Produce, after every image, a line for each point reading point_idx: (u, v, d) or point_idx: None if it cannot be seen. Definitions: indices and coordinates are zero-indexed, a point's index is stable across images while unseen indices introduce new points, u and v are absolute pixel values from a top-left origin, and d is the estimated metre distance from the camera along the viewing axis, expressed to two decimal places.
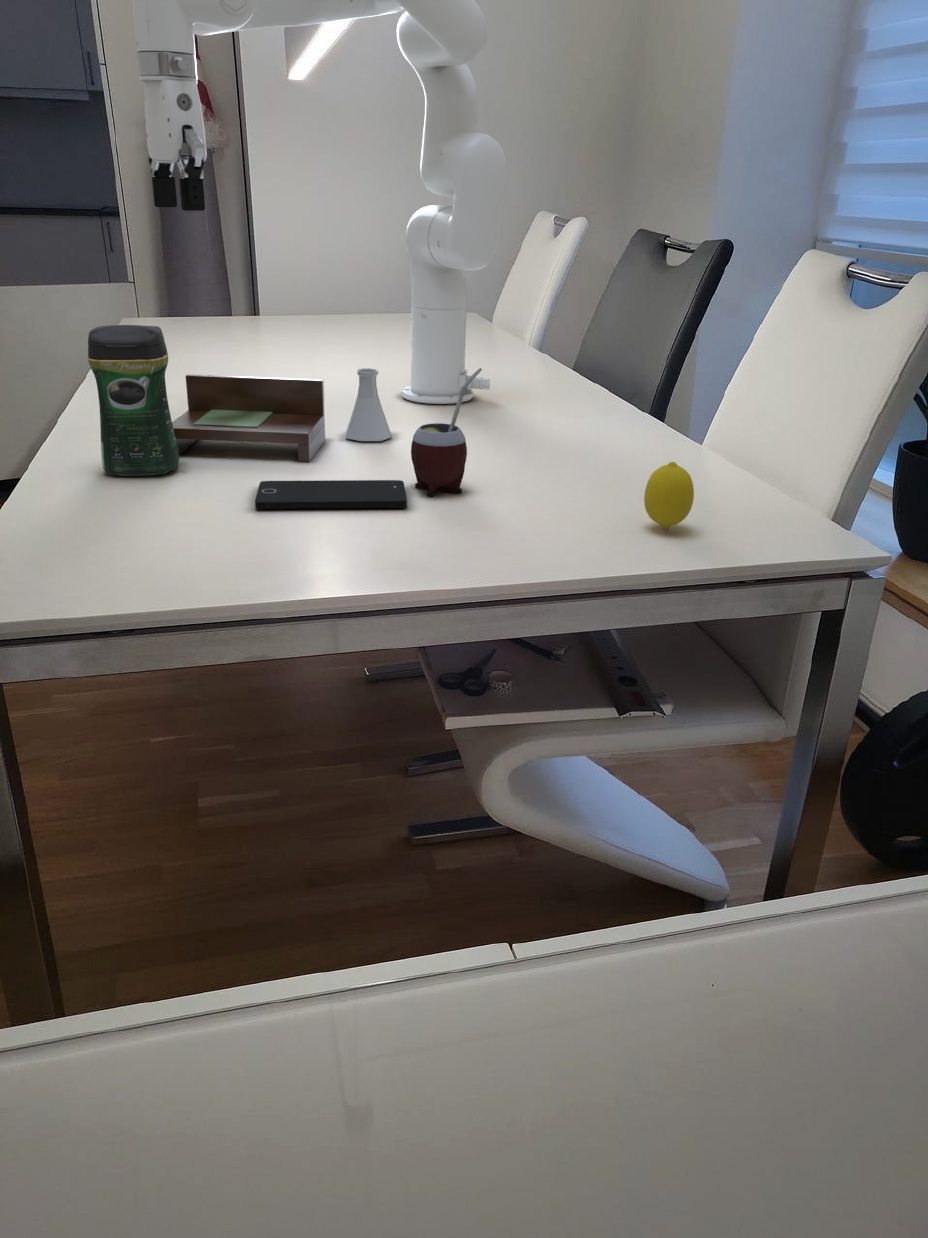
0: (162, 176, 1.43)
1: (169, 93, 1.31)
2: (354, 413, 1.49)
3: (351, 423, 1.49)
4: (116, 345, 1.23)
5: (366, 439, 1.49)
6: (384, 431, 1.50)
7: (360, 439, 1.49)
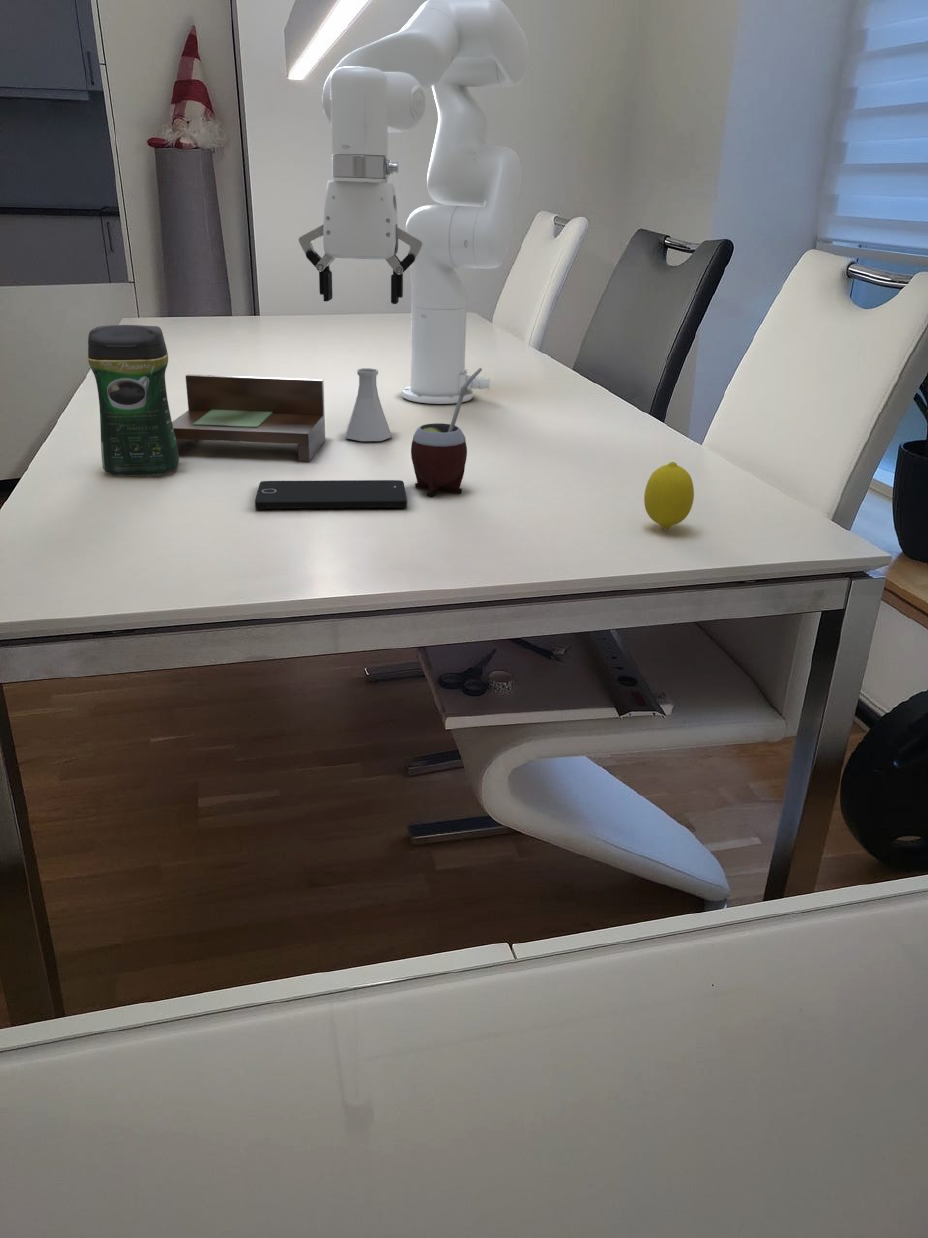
0: (328, 271, 1.42)
1: (389, 195, 1.36)
2: (354, 413, 1.49)
3: (351, 423, 1.49)
4: (116, 345, 1.23)
5: (366, 439, 1.49)
6: (384, 431, 1.50)
7: (360, 439, 1.49)
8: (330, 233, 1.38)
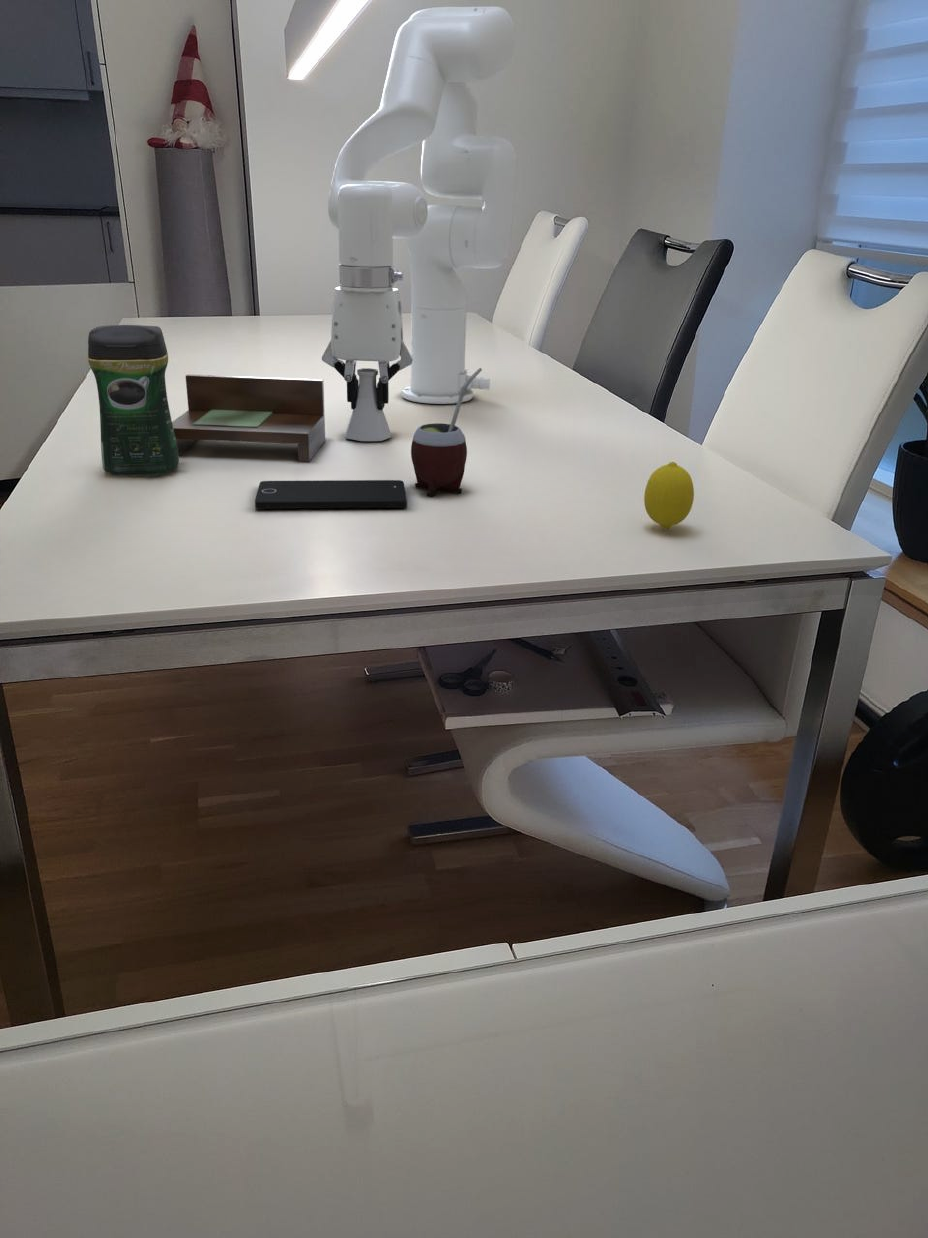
0: (355, 380, 1.48)
1: (395, 302, 1.42)
2: (354, 413, 1.49)
3: (351, 423, 1.49)
4: (116, 345, 1.23)
5: (366, 439, 1.49)
6: (384, 431, 1.50)
7: (360, 439, 1.49)
8: (338, 338, 1.44)
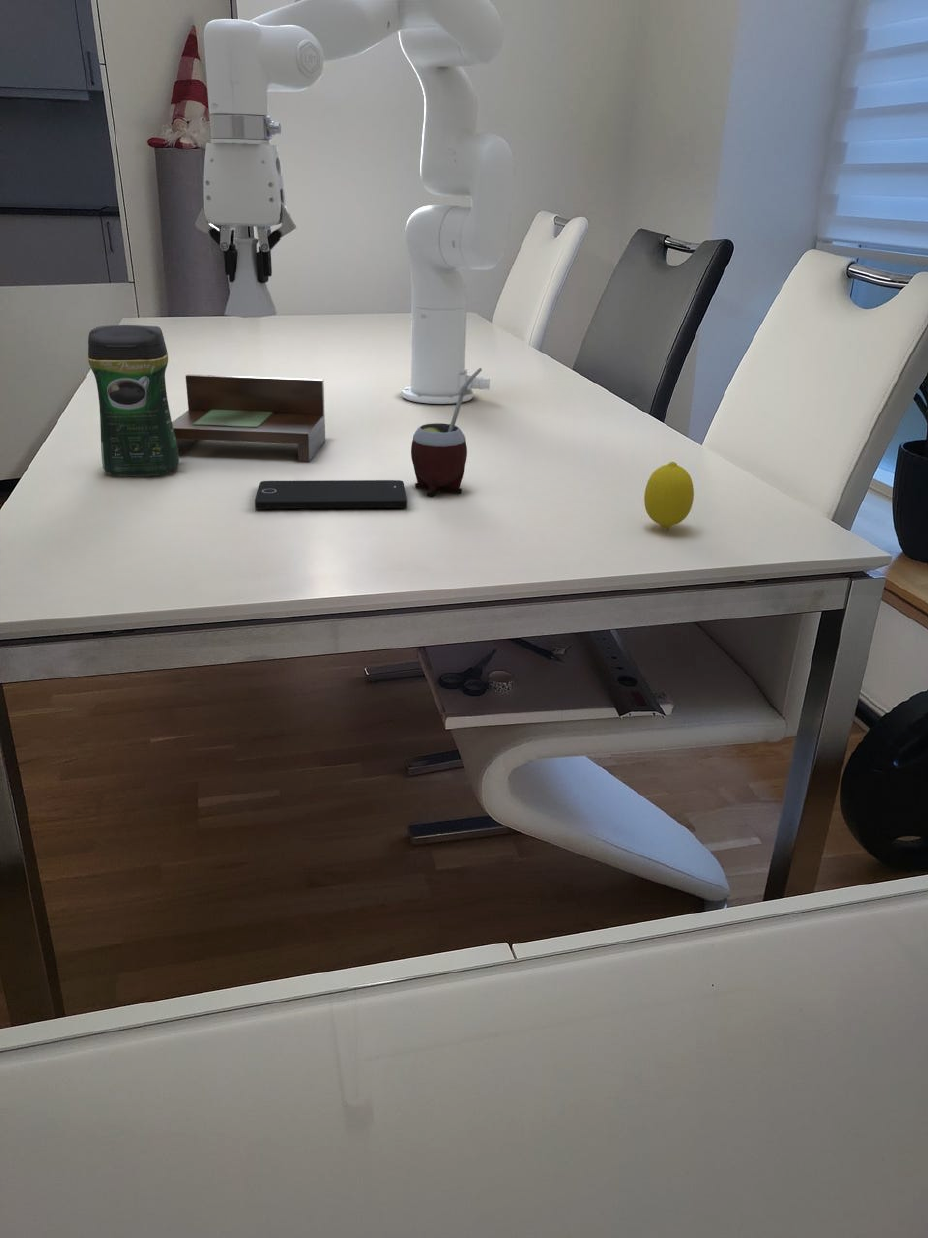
0: (233, 250, 1.35)
1: (271, 158, 1.29)
2: (233, 286, 1.36)
3: (230, 298, 1.36)
4: (116, 345, 1.23)
5: (246, 315, 1.35)
6: (266, 307, 1.37)
7: (239, 315, 1.35)
8: (210, 199, 1.31)
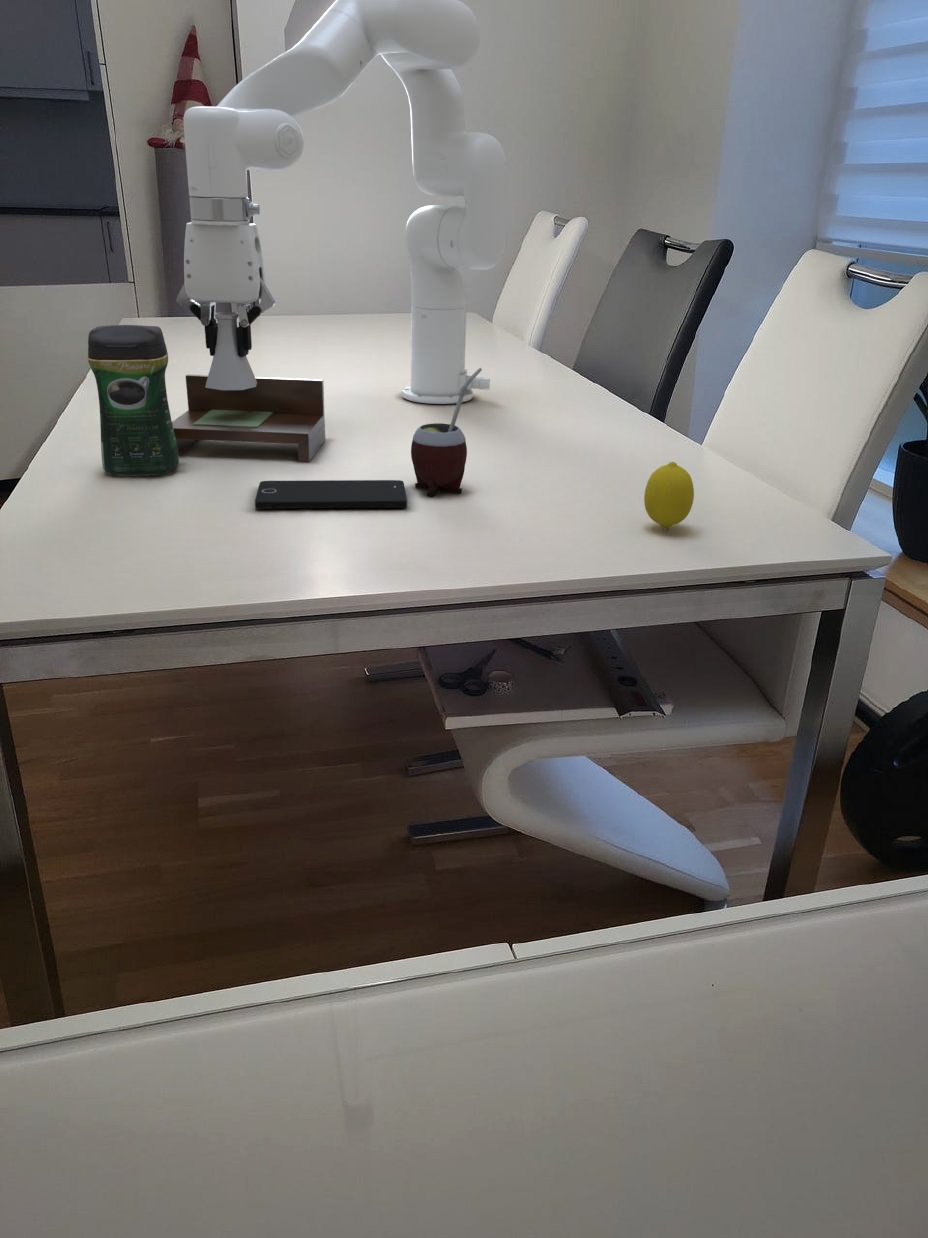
0: (214, 324, 1.38)
1: (250, 238, 1.32)
2: (213, 360, 1.38)
3: (210, 371, 1.39)
4: (116, 345, 1.23)
5: (226, 388, 1.38)
6: (246, 380, 1.39)
7: (219, 388, 1.38)
8: (191, 277, 1.34)
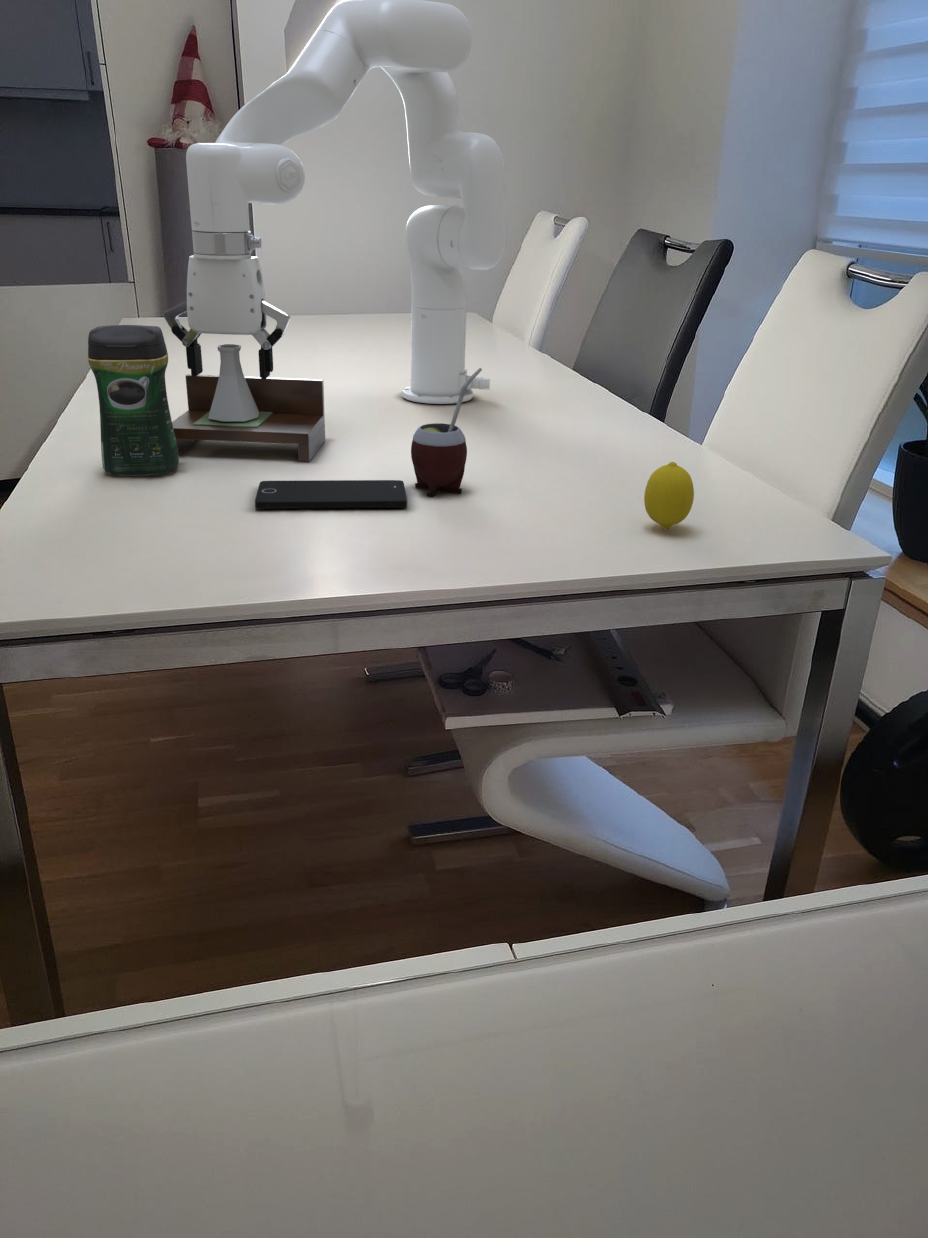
0: (195, 345, 1.39)
1: (252, 271, 1.33)
2: (216, 392, 1.40)
3: (213, 402, 1.41)
4: (116, 345, 1.23)
5: (229, 419, 1.40)
6: (248, 411, 1.41)
7: (222, 419, 1.40)
8: (193, 309, 1.35)
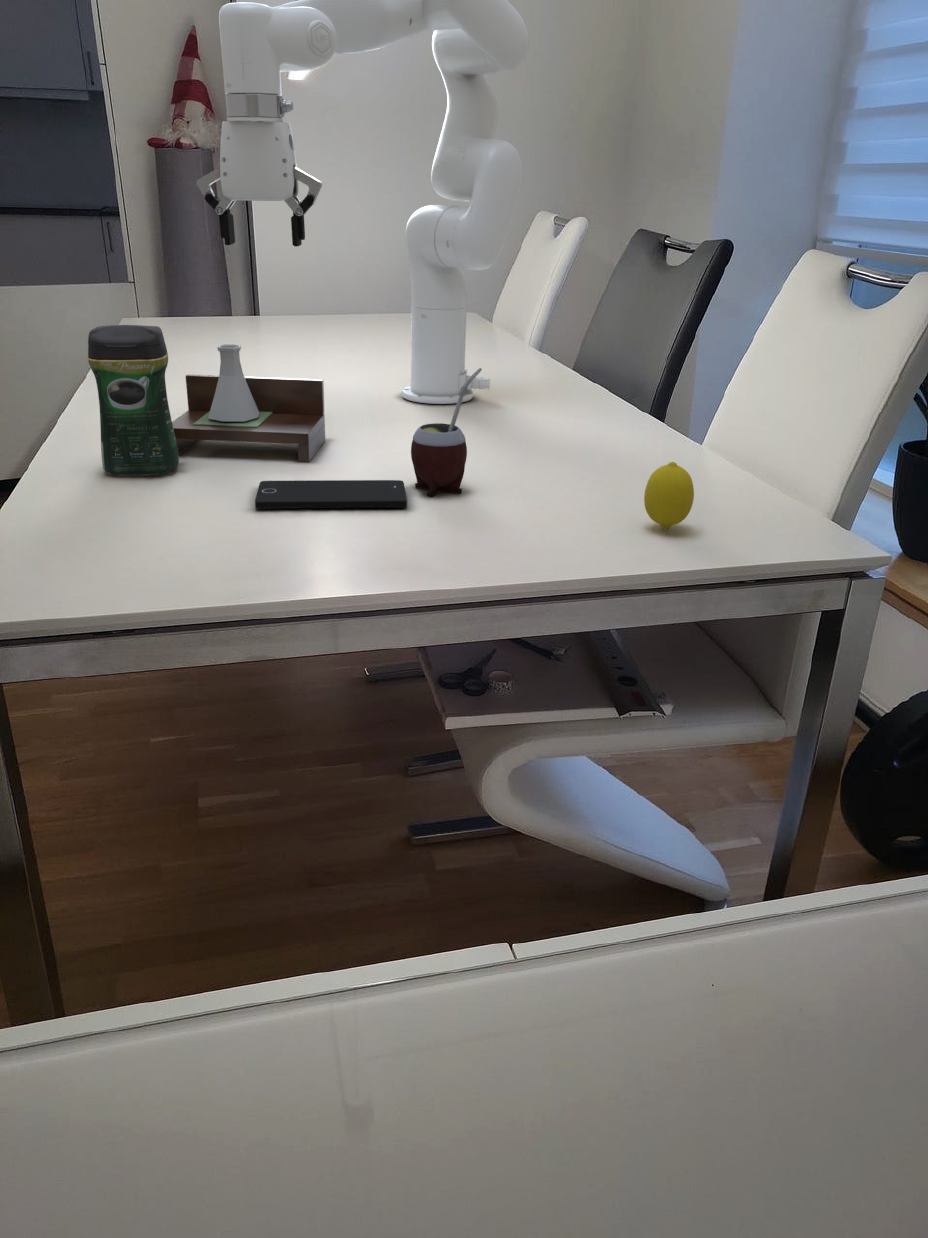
0: (228, 214, 1.41)
1: (284, 134, 1.35)
2: (216, 392, 1.40)
3: (213, 402, 1.41)
4: (116, 345, 1.23)
5: (229, 419, 1.40)
6: (248, 411, 1.41)
7: (222, 419, 1.40)
8: (227, 175, 1.37)
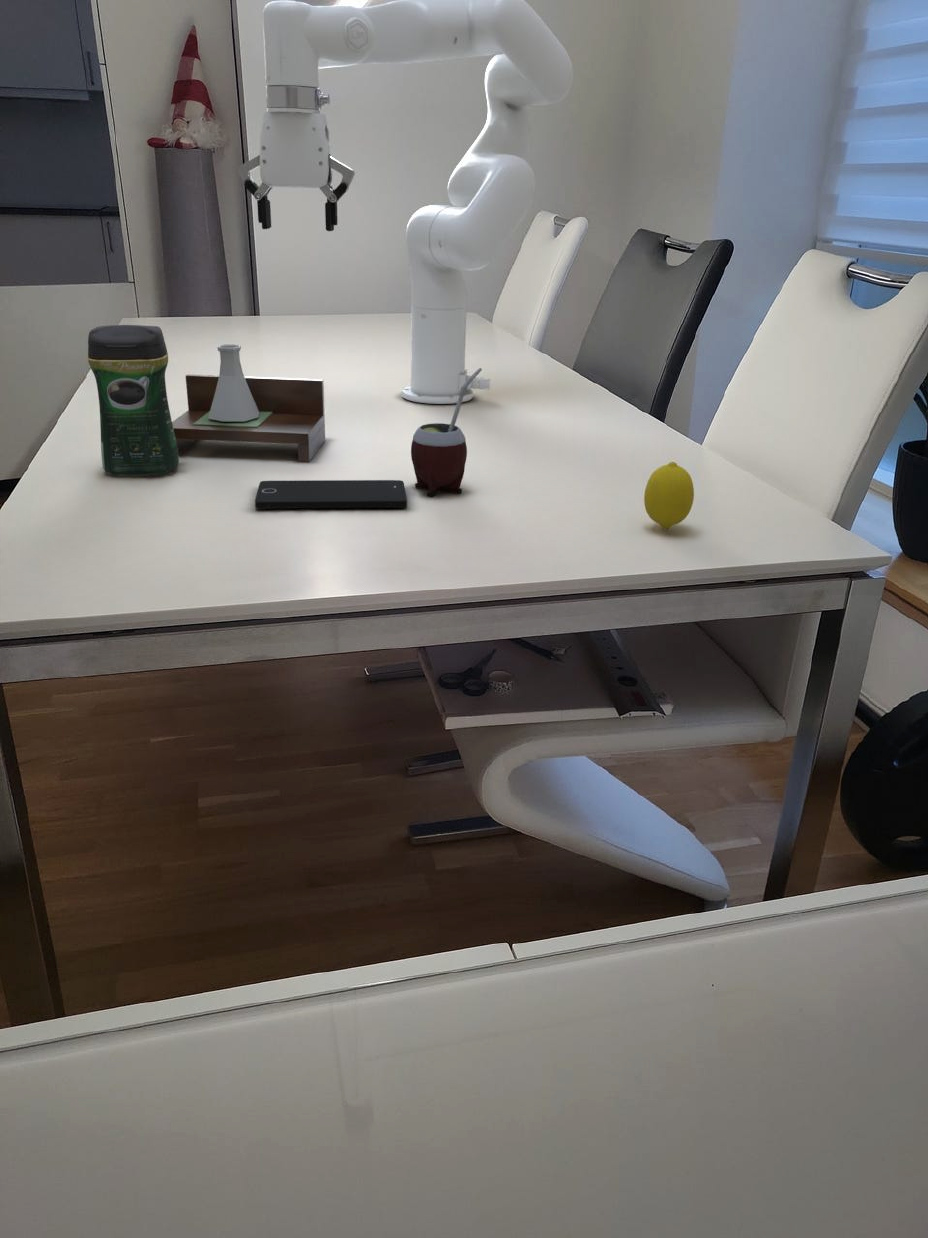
0: (266, 199, 1.50)
1: (321, 125, 1.44)
2: (216, 392, 1.40)
3: (213, 402, 1.41)
4: (116, 345, 1.23)
5: (229, 419, 1.40)
6: (248, 411, 1.41)
7: (222, 419, 1.40)
8: (266, 162, 1.46)
